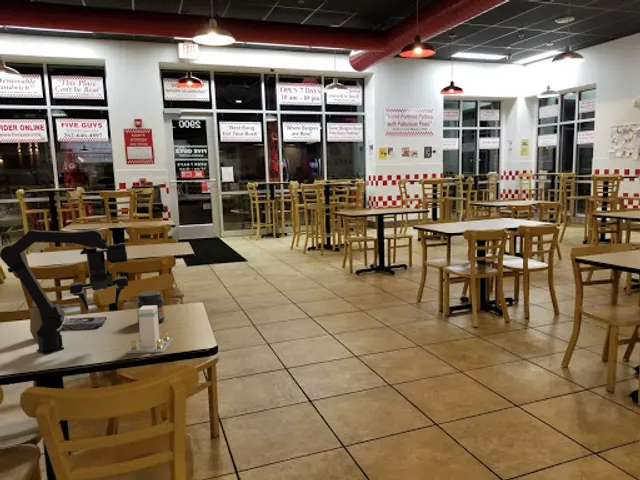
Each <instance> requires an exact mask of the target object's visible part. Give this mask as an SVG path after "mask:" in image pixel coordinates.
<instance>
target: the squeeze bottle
mask: <svg viewBox="0 0 640 480" xmlns="http://www.w3.org/2000/svg"><path fill="white" fill-rule="evenodd" d="M29 313H30V314H29V315H30V316H29V317H30V318H29V319H30V321H29V324H30V325H29V332H30V335H32V337H33V339H34V340H35V341H38V337H37V335H38V334H37V331H38V329H39V328H40V326H41V325H42V324H43V323H42V320H41V317H40V313H39V309H38V307H37V306H36V304H35V302H34V301H33V300H32V307H31V308H30V312H29Z"/></svg>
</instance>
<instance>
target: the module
mask: <svg viewBox="0 0 640 480" xmlns="http://www.w3.org/2000/svg"><path fill="white" fill-rule="evenodd" d="M138 313H139V314H138ZM138 313H137V316H138V315H139V322H138V325H139V333H140V339H141V346H156V345H157V344H156V341H157V340H160V338H161V337H160V325H159V324H160V323H158V309H157V305H153V306H142V307H141V308H140V309H138Z"/></svg>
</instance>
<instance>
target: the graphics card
mask: <svg viewBox="0 0 640 480" xmlns="http://www.w3.org/2000/svg"><path fill="white" fill-rule="evenodd" d="M106 321H107V316H91V317H89V316H87V317H71V318H70V317H68V316H64V321H63V323H62V325H61V327H60V328H59V329H57V331H60V332H61V331H67V330H68V331H71V330H84V329H85V328H86V329H85V330H87V329H95V328H97V327H100V326H102V325H103V324H104V323H105V322H106Z"/></svg>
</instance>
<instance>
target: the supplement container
mask: <svg viewBox="0 0 640 480" xmlns="http://www.w3.org/2000/svg"><path fill="white" fill-rule="evenodd" d="M136 297H137V301H136V310H137V323H139V315H138V314H139V313H138V309H140V308H141V307H142V306H153V305H157V309H158V323H159V324H160V323H162V322H164V321H165V318H166V317H165V306H164V304H165V303H164V302H165V301H164V300H165V299H163V298H162V297H163V292H162V291H159V290H148V291H142V292H139V293H138V294H137V296H136Z"/></svg>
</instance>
